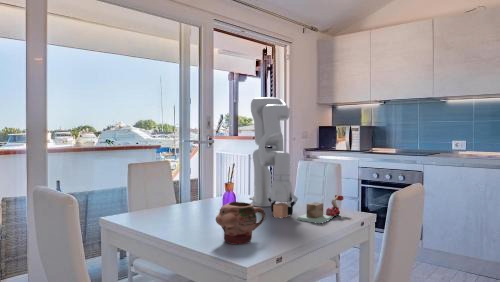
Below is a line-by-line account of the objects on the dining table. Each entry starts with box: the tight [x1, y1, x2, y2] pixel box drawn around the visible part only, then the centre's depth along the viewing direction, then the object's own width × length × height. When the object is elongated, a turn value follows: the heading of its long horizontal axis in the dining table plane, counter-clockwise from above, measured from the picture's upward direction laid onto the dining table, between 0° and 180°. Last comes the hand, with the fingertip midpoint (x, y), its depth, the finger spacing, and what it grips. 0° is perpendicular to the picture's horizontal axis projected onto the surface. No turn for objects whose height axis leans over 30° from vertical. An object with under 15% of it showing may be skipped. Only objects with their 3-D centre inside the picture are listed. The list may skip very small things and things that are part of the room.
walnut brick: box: [306, 201, 324, 218], centre depth 174 cm, size 5×7×6 cm
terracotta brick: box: [272, 202, 290, 219], centre depth 181 cm, size 5×7×6 cm
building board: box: [296, 213, 334, 224], centre depth 174 cm, size 12×12×2 cm
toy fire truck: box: [325, 194, 344, 218], centre depth 182 cm, size 3×14×10 cm, turn 143°
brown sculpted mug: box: [215, 201, 266, 245], centre depth 139 cm, size 20×12×14 cm, turn 121°
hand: (281, 213), depth 181 cm, fingers open, 9 cm apart
